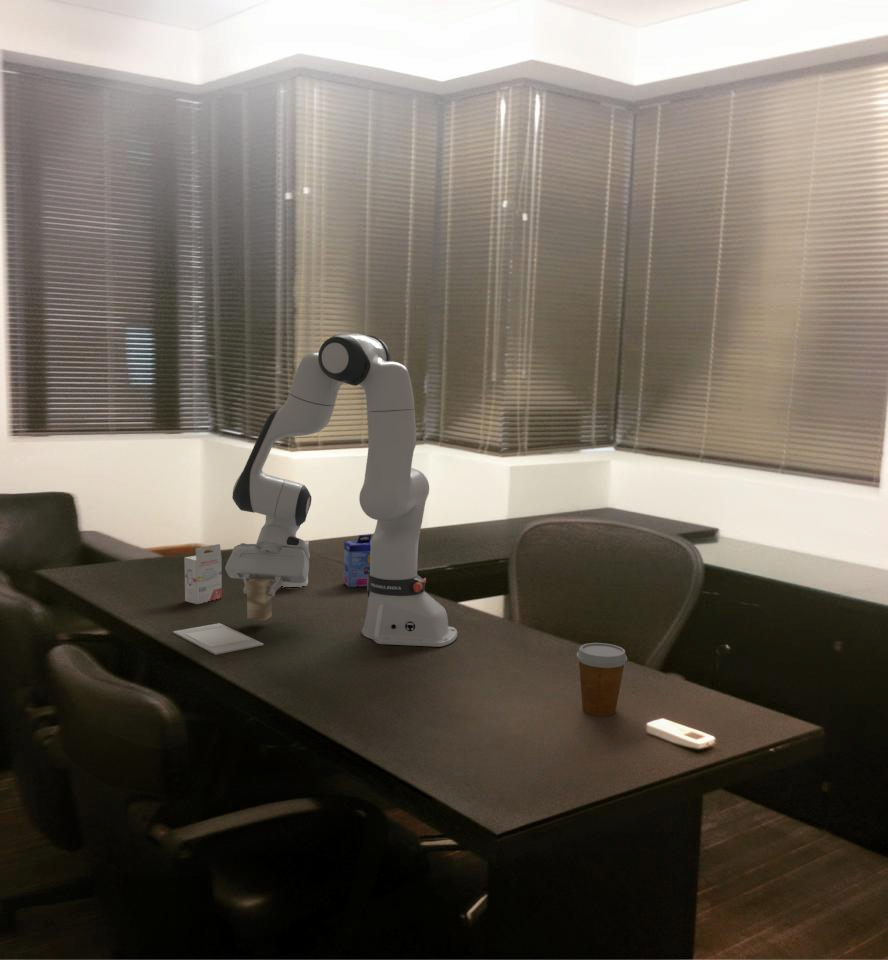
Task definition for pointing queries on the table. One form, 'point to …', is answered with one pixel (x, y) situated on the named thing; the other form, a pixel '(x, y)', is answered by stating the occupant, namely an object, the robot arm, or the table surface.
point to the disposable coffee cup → (600, 677)
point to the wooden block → (259, 599)
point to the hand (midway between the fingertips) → (258, 593)
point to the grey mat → (218, 638)
